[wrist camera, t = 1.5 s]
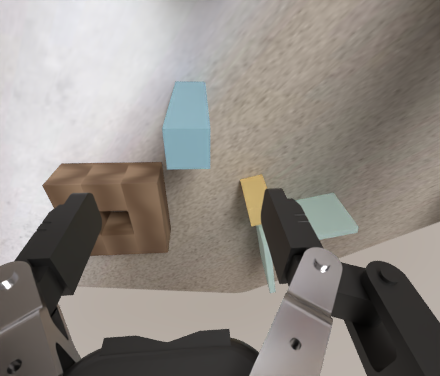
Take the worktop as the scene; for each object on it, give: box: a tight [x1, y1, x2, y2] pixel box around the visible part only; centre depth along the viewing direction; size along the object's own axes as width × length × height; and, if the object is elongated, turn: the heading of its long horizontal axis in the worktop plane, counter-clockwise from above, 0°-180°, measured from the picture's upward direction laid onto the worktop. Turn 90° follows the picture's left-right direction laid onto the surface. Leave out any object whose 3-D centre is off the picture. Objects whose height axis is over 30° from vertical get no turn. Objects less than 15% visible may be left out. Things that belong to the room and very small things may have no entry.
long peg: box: [162, 82, 210, 169], centre depth 21 cm, size 3×3×12 cm
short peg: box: [240, 175, 267, 226], centre depth 31 cm, size 3×3×6 cm
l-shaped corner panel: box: [256, 193, 359, 293], centre depth 37 cm, size 12×12×8 cm
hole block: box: [42, 162, 171, 256], centre depth 31 cm, size 12×12×4 cm
